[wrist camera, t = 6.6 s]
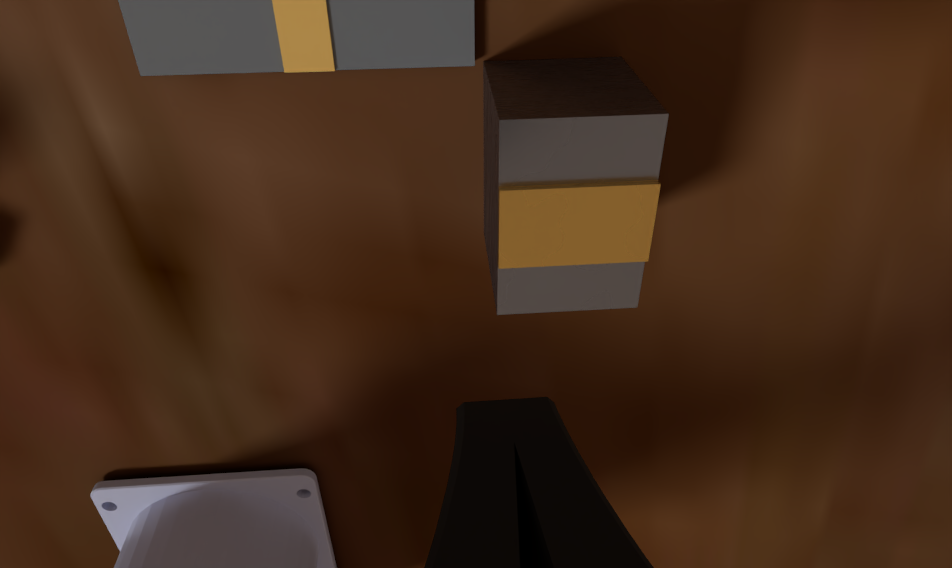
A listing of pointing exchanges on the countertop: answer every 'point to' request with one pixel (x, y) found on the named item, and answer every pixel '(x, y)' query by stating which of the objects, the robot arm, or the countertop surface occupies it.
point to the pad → (297, 35)
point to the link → (569, 182)
